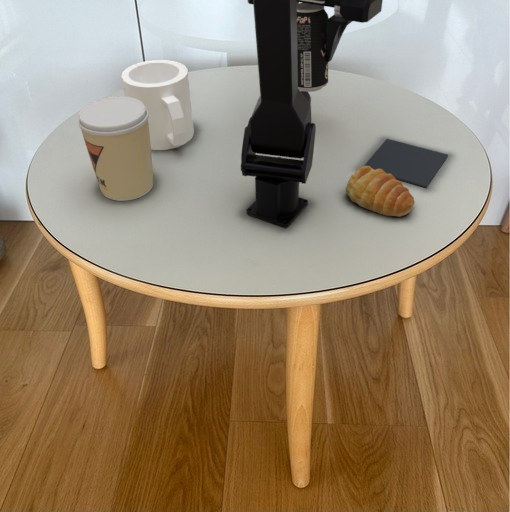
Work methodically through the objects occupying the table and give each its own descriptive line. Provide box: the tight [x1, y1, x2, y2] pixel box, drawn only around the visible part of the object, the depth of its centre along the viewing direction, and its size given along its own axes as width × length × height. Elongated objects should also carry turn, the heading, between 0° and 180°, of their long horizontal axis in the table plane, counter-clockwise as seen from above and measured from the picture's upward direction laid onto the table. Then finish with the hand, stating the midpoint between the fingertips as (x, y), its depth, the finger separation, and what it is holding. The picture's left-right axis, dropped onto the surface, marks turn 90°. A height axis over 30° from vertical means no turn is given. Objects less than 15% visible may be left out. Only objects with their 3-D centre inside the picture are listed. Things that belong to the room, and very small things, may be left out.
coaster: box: [363, 138, 449, 189], centre depth 87 cm, size 10×10×1 cm
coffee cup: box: [77, 95, 154, 202], centre depth 80 cm, size 9×9×12 cm
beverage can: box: [297, 2, 329, 93], centre depth 85 cm, size 6×6×12 cm
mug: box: [121, 59, 195, 151], centre depth 91 cm, size 14×10×11 cm
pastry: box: [344, 165, 416, 217], centre depth 79 cm, size 9×7×4 cm
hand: (310, 57), depth 86 cm, fingers closed on beverage can, 6 cm apart
